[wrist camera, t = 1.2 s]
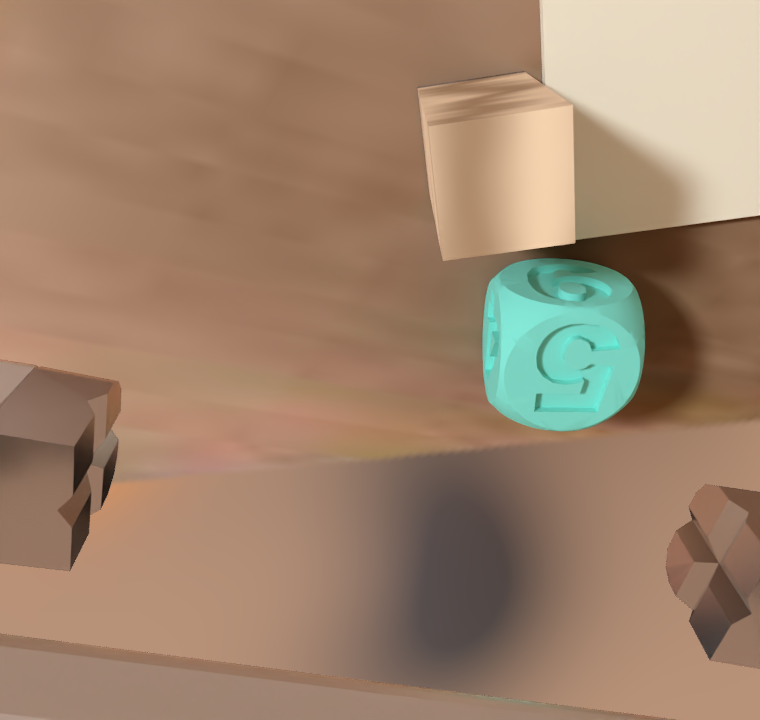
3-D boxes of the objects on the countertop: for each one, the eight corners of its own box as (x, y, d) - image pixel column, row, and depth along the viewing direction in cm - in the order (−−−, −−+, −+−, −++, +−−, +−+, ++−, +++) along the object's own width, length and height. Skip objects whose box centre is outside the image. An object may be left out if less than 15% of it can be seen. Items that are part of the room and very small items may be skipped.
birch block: (523, 71, 40) (573, 105, 30) (528, 177, 43) (575, 243, 32) (417, 87, 41) (428, 126, 30) (429, 191, 43) (442, 260, 33)
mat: (791, -52, 37) (799, -53, 36) (762, 210, 44) (769, 213, 43) (539, -12, 38) (542, -12, 37) (548, 239, 45) (550, 243, 44)
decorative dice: (479, 367, 49) (494, 432, 42) (487, 256, 45) (506, 307, 38) (596, 368, 49) (631, 434, 42) (614, 257, 45) (656, 309, 38)
